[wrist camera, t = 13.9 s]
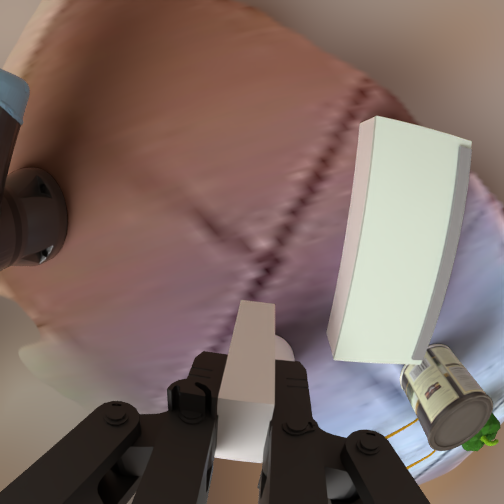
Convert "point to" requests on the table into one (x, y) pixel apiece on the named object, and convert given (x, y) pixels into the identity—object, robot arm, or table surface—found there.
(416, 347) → the pale green rectangular panel
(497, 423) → the bell pepper
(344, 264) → the duct channel
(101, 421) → the robot arm
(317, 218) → the table surface
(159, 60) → the table surface
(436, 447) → the coffee can
